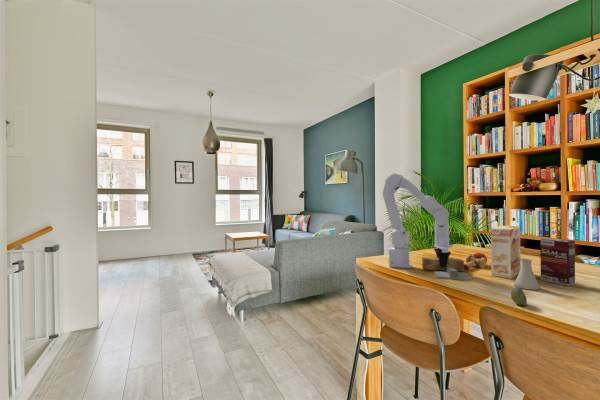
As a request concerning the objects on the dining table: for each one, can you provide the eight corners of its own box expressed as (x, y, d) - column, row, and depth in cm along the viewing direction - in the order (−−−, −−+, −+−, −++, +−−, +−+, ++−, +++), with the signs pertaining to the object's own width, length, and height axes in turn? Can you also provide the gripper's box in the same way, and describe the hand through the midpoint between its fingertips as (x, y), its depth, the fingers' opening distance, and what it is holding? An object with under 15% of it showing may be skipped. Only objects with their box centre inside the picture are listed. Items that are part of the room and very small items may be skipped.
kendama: (477, 276, 117) (493, 263, 128) (473, 261, 117) (489, 250, 128) (458, 275, 123) (475, 263, 134) (455, 261, 124) (471, 250, 134)
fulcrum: (437, 278, 111) (437, 270, 111) (434, 272, 119) (433, 264, 119) (471, 280, 107) (471, 272, 107) (465, 274, 115) (465, 266, 115)
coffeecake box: (511, 279, 107) (510, 229, 107) (490, 275, 113) (489, 228, 113) (521, 272, 117) (520, 226, 117) (501, 269, 122) (500, 225, 122)
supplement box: (539, 280, 105) (539, 238, 105) (547, 278, 107) (546, 237, 107) (569, 286, 97) (568, 241, 97) (576, 284, 99) (575, 240, 99)
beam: (423, 269, 123) (423, 259, 123) (422, 267, 127) (422, 257, 127) (463, 271, 118) (463, 260, 118) (461, 268, 122) (461, 258, 122)
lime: (524, 302, 84) (524, 285, 84) (533, 308, 79) (533, 291, 79) (507, 301, 85) (507, 285, 85) (515, 307, 81) (515, 290, 81)
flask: (542, 291, 93) (541, 262, 93) (515, 288, 96) (514, 260, 96) (537, 285, 99) (537, 258, 99) (512, 283, 103) (511, 256, 103)
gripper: (455, 237, 114) (456, 270, 114) (448, 233, 128) (449, 262, 128) (436, 237, 116) (437, 269, 116) (431, 233, 130) (432, 261, 130)
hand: (442, 265), depth 122 cm, fingers closed on beam, 4 cm apart
